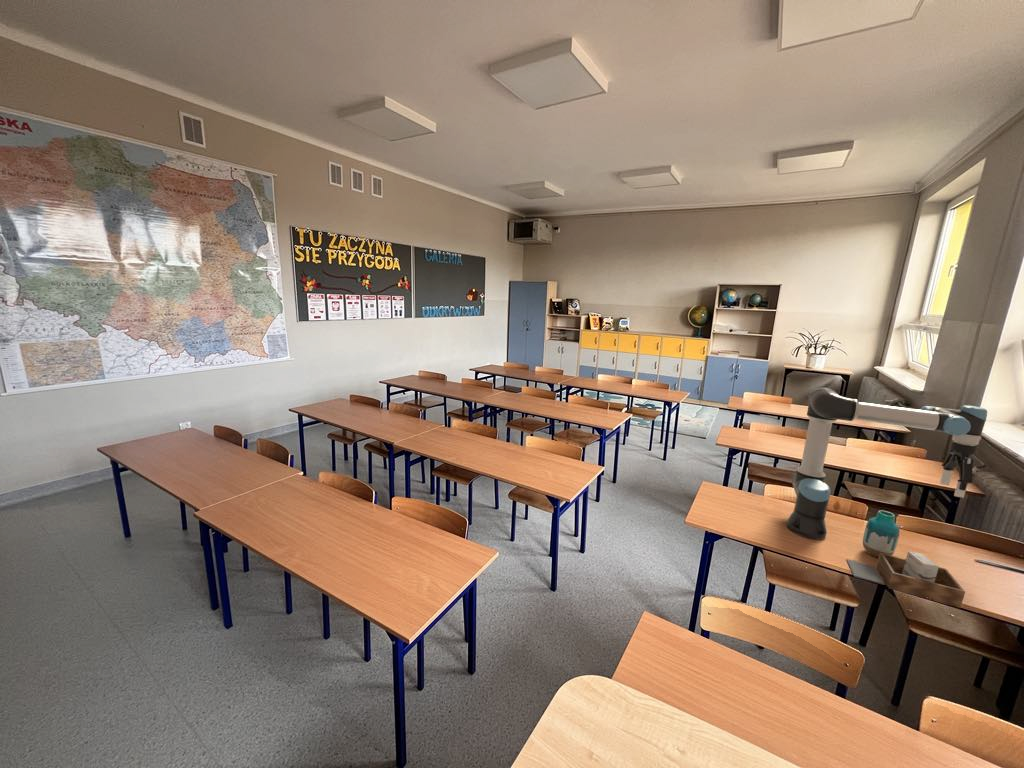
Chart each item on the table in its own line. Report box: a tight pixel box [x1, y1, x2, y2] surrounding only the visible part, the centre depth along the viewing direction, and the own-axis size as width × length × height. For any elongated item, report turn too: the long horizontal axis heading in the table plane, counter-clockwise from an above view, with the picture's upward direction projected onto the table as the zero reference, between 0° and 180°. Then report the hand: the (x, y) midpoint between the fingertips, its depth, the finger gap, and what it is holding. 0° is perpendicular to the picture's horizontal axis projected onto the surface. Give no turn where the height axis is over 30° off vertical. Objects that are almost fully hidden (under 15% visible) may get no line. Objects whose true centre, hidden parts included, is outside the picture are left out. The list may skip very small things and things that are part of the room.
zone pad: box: [846, 558, 885, 585], centre depth 164 cm, size 9×12×1 cm
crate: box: [876, 553, 966, 609], centre depth 156 cm, size 20×15×6 cm
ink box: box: [902, 550, 940, 583], centre depth 156 cm, size 8×5×12 cm, turn 168°
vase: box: [862, 509, 900, 558], centre depth 174 cm, size 11×11×19 cm
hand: (951, 490), depth 177 cm, fingers open, 13 cm apart
